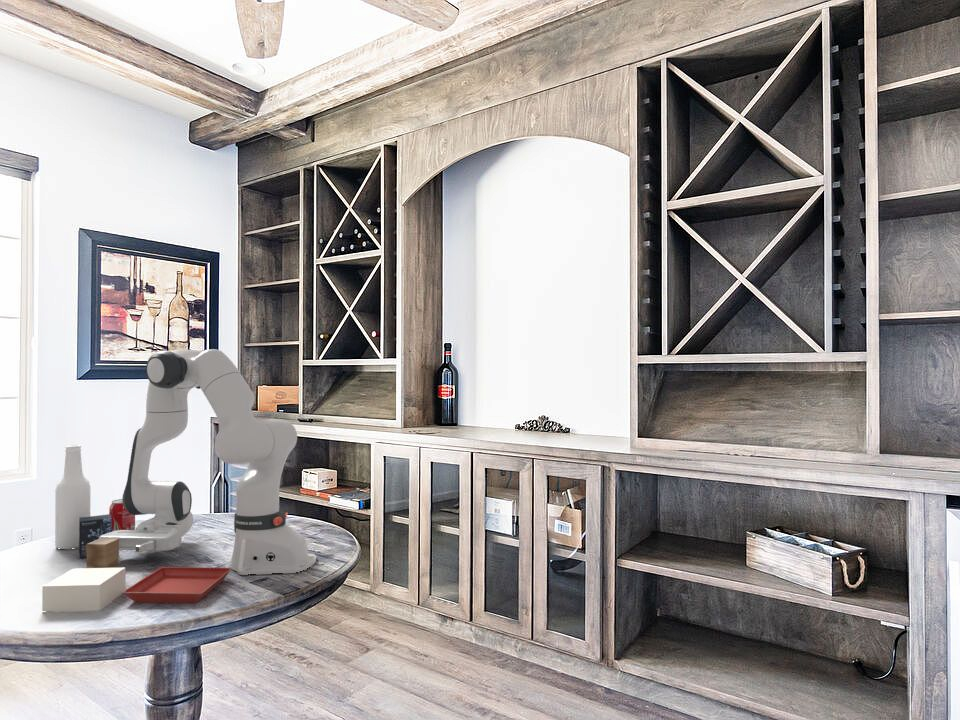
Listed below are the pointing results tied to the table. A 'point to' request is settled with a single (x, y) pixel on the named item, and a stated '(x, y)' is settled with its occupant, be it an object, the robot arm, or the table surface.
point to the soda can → (121, 517)
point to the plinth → (83, 589)
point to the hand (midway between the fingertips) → (120, 548)
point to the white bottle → (71, 500)
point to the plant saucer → (176, 584)
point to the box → (92, 530)
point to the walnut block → (103, 553)
